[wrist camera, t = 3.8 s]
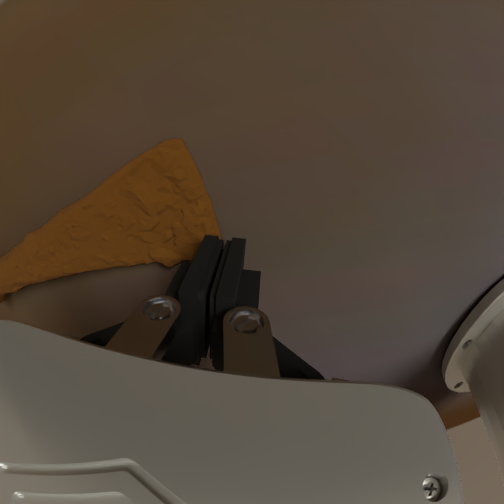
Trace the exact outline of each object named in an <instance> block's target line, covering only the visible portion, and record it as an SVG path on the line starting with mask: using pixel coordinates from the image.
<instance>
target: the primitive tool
mask: <svg viewBox="0 0 504 504" xmlns="http://www.w3.org/2000/svg"><path fill="white" fill-rule="evenodd" d="M205 235H214V236H219V240H221V235H220V230H219V225H218V224H217V221H216V218H215V214H214V211H213V206H212V202H211V200H210V198H209V196H208V194H207V192H206V190H205V187H204V183H203V181H202V178H201V175H200V173H199V171H198V169H197V167H196V165H195V163H194V161H193V159H192V157H191V155H190V153H189V151H188V150H187V148H186V146H185V144H184V142H183V140H181V139H176V138H172V139H169V140H166V141H164V142H161V143H159V144H158V145H157V146H155V147H154V148H152V149H150V150H148V151H146V152H145V153H143V154H141V155H140V156H138V157H136V158H134V159H133V160H132V161H130V162H129V163H127V164H126V165H124V166H123V167H121V168H120V169H119V170H117V171H116V172H115V173H113V174H112V175H111V176H110V177H109V178H108V179H107V180H105V181H104V182H103V183H102V184H100V185H99V186H98V187H96V188H95V189H94V190H92V191H91V192H90V193H88V194H87V195H85V196H84V197H82V198H81V199H80V200H78V201H77V202H75V203H73V204H71V205H69V206H67V207H66V208H63V209H61V210H59V211H58V212H57V214H56V215H55V216H54V217H53V218H52V219H50V220H49V221H48V222H47V223H46V224H44V225H43V226H42V227H41V228H39V229H37V230H35V231H33V232H29V233H28V234H27V235H26V237H25V239H24V240H23V242H21V243H20V244H19V245H17V246H15V247H14V248H13V249H12V250H11V251H9V252H8V253H7V254H6V255H4V256H2V257H1V258H0V303H2V302H3V301H4V300H5V299H6V297H7V294H8V293H12V292H16V291H19V290H20V289H21V288H22V287H25V286H27V285H31V284H34V283H40V282H45V281H47V280H51V279H55V278H60V277H63V276H70V275H75V274H77V273H81V272H84V271H93V270H97V269H98V270H104V269H109V268H113V267H121V266H127V267H129V266H134V265H136V264H142V263H146V264H149V263H152V262H160V263H162V264H164V265H165V266H167V267H172V266H174V265H175V264H177V263H179V262H181V261H183V260H193V259H194V257H195V255H196V253H197V250H198V248H199V246H200V244H201V242H202V240H203V238H204V236H205Z"/></svg>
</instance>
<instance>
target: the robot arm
mask: <svg viewBox="0 0 504 504" xmlns="http://www.w3.org/2000/svg"><path fill="white" fill-rule="evenodd" d="M245 244H246V239H241V238H232V241H228V240H227V242H226V245H225V248H224V251H223V240H219V236H214V235H205V236H204V238H203V240H202V242H201V244H200V246H199V248H198V250H197V253H196V255H195V257H194V259H193V261H192V263H185V262H183V263H181V265H180V267H179V269H178V271H177V273H176V274H175V276H174V278H173V280H172V282H171V284H170V286H169V288H168V290H167V292H166V294H165V295H156V296H152V297H149V298H147V299H145V300H144V301H142V302H141V303H140V304H139V306H138V307H137V308H136V309H135V310H134V312H133V313H132V314H131V315H130V316H129V318H128V319H127V320H126V321H125V322H123V323H120V324H117V325H115V326H112V327H109V328H106V329H104V330H101V331H98V332H95V333H93V334H90V335H87V336H85V337H83V338H82V339H80V340H78V338H77V337H68V336H65V335H62V334H59V333H56V332H53V331H50V330H47V329H43V328H40V327H37V326H34V325H31V324H28V323H23V322H19V321H12V320H0V504H465V503H464V497H463V491H462V486H461V480H460V476H459V471H458V467H457V462H456V459H455V455H454V452H453V449H452V446H451V442H450V439H449V436H448V434H447V431H446V429H445V426H444V424H443V422H442V420H441V418H440V416H439V414H438V412H437V410H436V409H435V408H434V406H433V405H432V404H431V403H430V401H429V400H428V399H426V398H425V397H424V396H422V395H420V394H418V393H416V392H414V391H411V390H409V389H405V388H401V387H398V386H395V385H388V384H383V383H376V382H365V381H348V380H343V379H338V378H332V380H326V379H324V377H323V376H322V375H321V374H320V373H319V372H318V371H317V370H316V369H314V368H313V367H312V366H310V365H309V364H308V363H306V362H305V361H304V360H302V359H301V358H300V357H298V356H297V355H296V354H295V353H293V352H292V351H291V350H289V349H288V348H287V347H286V346H284V345H283V344H282V343H281V342H279V341H278V340H277V339H276V338H274V337H273V336H272V332H271V327H270V322H269V319H268V317H267V316H266V315H265V313H264V312H262V311H260V310H259V309H258V303H259V289H260V275H261V271H252V270H243V266H244V255H245ZM209 344H210V359H212V366H213V367H214V368H215V369H216V370H212V369H205V368H199V367H193V366H190V365H192V364H194V365H199V364H200V360H201V357H203V358H206V356H207V352H208V348H209ZM441 371H442V376H443V379H444V381H445V383H446V385H447V387H448V388H449V389H450V390H452V391H455V392H469V391H470V392H471V394H472V396H473V398H474V401H475V403H476V405H477V408H478V410H479V413H480V415H481V418H482V420H483V423H484V425H485V428H486V431H487V434H488V436H489V439H490V442H491V445H492V448H493V451H494V454H495V458H496V461H497V464H498V468H499V471H500V475H501V479H502V483H503V487H504V278H503V279H502V280H501V281H500V282H499V283H498V284H496V285H495V286H494V287H493V288H492V289H491V290H490V291H489V292H488V293H487V294H486V295H485V296H484V297H483V298H482V300H481V301H480V302H479V303H478V304H477V305H476V307H475V308H474V309H473V310H472V311H471V313H470V314H469V315H468V317H467V318H466V319H465V320H464V322H463V323H462V324H461V326H460V328H459V329H458V331H457V332H456V334H455V335H454V337H453V338H452V341H451V342H450V344H449V346H448V348H447V350H446V353H445V356H444V359H443V362H442V370H441Z"/></svg>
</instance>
